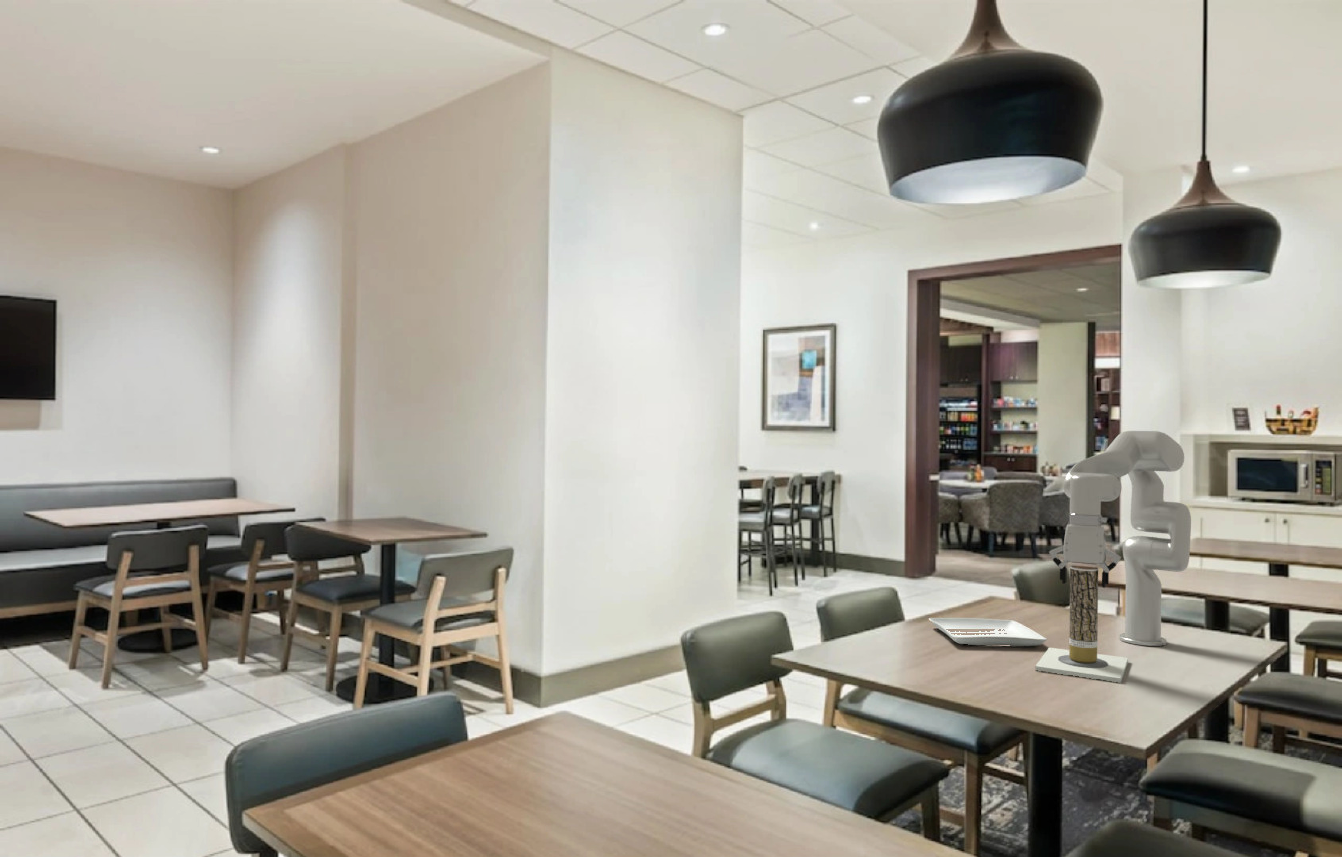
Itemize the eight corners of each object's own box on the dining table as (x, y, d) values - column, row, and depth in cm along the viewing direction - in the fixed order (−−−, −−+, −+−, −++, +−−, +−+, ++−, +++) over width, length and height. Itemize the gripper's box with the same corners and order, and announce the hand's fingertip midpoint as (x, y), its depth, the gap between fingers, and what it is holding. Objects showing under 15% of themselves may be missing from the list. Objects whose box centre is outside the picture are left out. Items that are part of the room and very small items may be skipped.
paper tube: (1100, 664, 232) (1101, 569, 232) (1072, 663, 233) (1073, 568, 233) (1093, 658, 238) (1094, 565, 238) (1066, 656, 240) (1067, 564, 240)
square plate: (1048, 651, 253) (1048, 638, 253) (952, 649, 253) (953, 636, 253) (1013, 630, 280) (1014, 617, 280) (927, 628, 281) (927, 616, 281)
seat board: (1049, 651, 251) (1049, 646, 251) (1127, 662, 241) (1128, 656, 241) (1035, 670, 230) (1035, 665, 230) (1120, 683, 220) (1121, 677, 220)
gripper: (1122, 522, 234) (1121, 586, 234) (1052, 517, 243) (1051, 579, 243) (1119, 524, 228) (1118, 590, 228) (1047, 519, 237) (1046, 583, 237)
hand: (1083, 584), depth 236 cm, fingers open, 9 cm apart
